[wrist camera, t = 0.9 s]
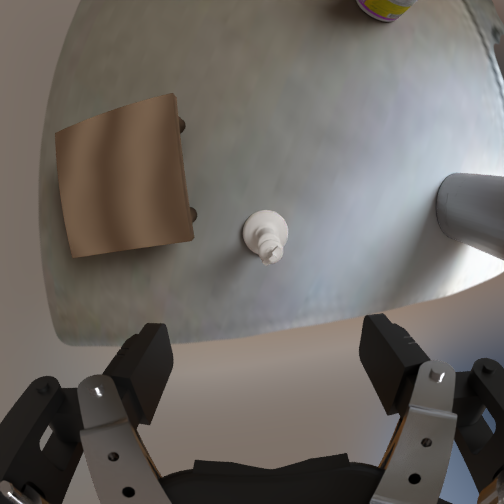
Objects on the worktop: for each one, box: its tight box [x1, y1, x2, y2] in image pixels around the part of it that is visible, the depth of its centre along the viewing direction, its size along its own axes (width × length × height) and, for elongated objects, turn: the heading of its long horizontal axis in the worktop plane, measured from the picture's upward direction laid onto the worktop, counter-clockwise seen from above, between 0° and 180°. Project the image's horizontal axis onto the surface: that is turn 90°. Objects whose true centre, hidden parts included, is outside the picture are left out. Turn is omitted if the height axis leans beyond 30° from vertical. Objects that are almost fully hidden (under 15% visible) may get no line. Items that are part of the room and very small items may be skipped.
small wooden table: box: [55, 93, 197, 258], centre depth 25 cm, size 13×13×7 cm
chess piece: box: [243, 210, 288, 266], centre depth 25 cm, size 5×5×10 cm
